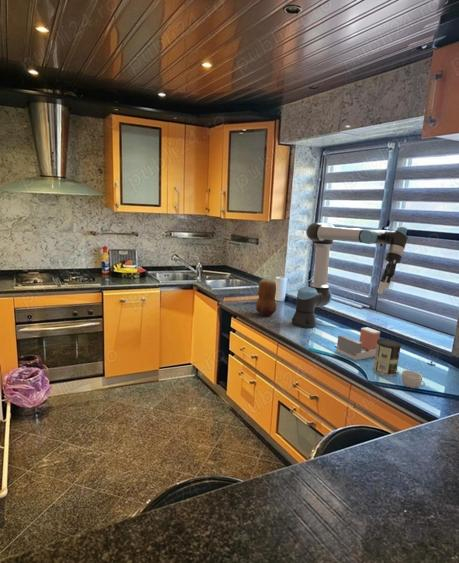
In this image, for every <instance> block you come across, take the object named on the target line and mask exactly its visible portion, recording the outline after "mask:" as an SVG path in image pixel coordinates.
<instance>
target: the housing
mask: <svg viewBox="0 0 459 563" xmlns="http://www.w3.org/2000/svg"><path fill="white" fill-rule="evenodd" d="M359 341H360V340H356V339H354V338H352V337H349V336H346V335H344V334H340V335H338V336H337V344H336V352H337V353H339V352H340V353H339V354H342V355H344V356H347V357H348V356H349V357H348V358H350V357H351V359H353V360H355V361H357V360H358V361H359V360H363V359H369V358H373V357H374V358H375V353H376V349H371V350H368V349H365V348H363V347H362V343H361V342H359Z"/></svg>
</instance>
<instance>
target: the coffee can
mask: <svg viewBox="0 0 459 563" xmlns="http://www.w3.org/2000/svg"><path fill="white" fill-rule="evenodd" d="M401 347H402V344H401V343H400V342H398V341H396V340H392V339H389V338H388V339H387V338H379V339H378V340H377V346H376V353H375V356H374V362H373V366H372V368H373V369H372V370H373V372H375V373H377V374H378V375H382V376H386V377H393V376H394V377H395V376H396V375H397V371H398V367H399V365H398V364H399V358H400V353H401V352H400V351H401Z"/></svg>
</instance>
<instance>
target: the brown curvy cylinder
mask: <svg viewBox="0 0 459 563" xmlns="http://www.w3.org/2000/svg"><path fill="white" fill-rule="evenodd" d="M257 294H258V299H257V301H256V305H255V307H256V312H258V314H260V315H262V316H264V317H270V316H272V315H273V314H275V313H276V311H277V303H276V294H277V284H276V281H275V280H273V279H266V278H263V279H260V280H259V283H258V293H257Z"/></svg>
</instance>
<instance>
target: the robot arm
mask: <svg viewBox="0 0 459 563" xmlns="http://www.w3.org/2000/svg"><path fill="white" fill-rule="evenodd" d="M407 230H409V228H407V227H404V226H397V227H396V226H395V229H394V230H384V229H365V228H364V229H363V228H348V227H337V226H335V225H333V224H332V223H327V222H313V223H311V224H309V225H308V227H307V228H306V237H307V238H308V239H309V240H310V241H312V242H314V243H313V245H314V246H315V255H314V256H315V259H314V271H313V282H312V284H310V287H305V286H304V287H301V288H299V289H298V290H297V294H296V304H295V312H294V314H293V317H292V318H291V324H292V325H293V326H295V327H298V328H305V329H311V328H316V324H317V322H316V317H315V308H319V307H324V306H327V305H329V303H331V300H332V298H333V297H332V296H333V294H332V292H331V290H330V286H329V285H328V277H329V276H328V273H329V263H330V262H329V261H330V252H331V251H330V250H331V249H330V248H331V247H332V246H333V243H334V241H339V242H340V241H341V242H350V243H360V244H361V243H362V244H367V245H374V244H375V245H376V244H377V245H389V247H388V250H387V253H386V256H385V261H386V262H387V264H386V265H385V268H384V272H383V273H382V276H381V279H379V280H380V283H379V286H378V289H377V291H376V292H377V294H381V295H383V293H384V290H387V291H388V290H389V288H390V286H391V284H392V280H393V277H394V275H395V273H396V272H395V271H396V266H397V265H398V264H400V263H401V261H402V256H403V254H404V253H405V247H406V245H407V241H408V240H409V236H406V231H407Z"/></svg>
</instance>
